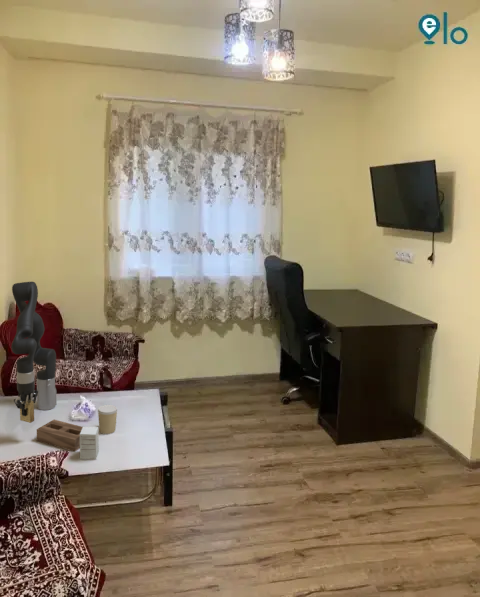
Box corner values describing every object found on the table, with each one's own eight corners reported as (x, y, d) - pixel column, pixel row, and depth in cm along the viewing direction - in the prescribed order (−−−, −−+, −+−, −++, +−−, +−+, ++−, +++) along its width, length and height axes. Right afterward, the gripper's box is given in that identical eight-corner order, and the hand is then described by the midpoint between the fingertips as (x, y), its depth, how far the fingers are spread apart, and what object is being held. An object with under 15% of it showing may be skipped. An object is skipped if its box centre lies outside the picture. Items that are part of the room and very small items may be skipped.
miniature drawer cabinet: (82, 451, 241) (82, 426, 239) (99, 451, 242) (99, 426, 239) (79, 459, 234) (79, 433, 231) (96, 459, 235) (96, 434, 232)
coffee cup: (120, 428, 265) (120, 406, 263) (110, 436, 257) (110, 413, 254) (104, 425, 268) (104, 403, 266) (94, 432, 260) (94, 410, 257)
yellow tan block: (24, 418, 248) (23, 398, 246) (34, 420, 246) (33, 401, 244) (20, 420, 246) (19, 400, 243) (30, 422, 244) (29, 403, 241)
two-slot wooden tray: (54, 430, 259) (53, 419, 258) (91, 440, 252) (91, 429, 251) (36, 440, 248) (36, 429, 247) (75, 451, 241) (74, 439, 240)
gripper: (30, 373, 249) (31, 407, 253) (7, 383, 236) (9, 418, 240) (42, 376, 246) (43, 410, 250) (20, 386, 234) (22, 422, 237)
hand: (27, 414), depth 245 cm, fingers closed on yellow tan block, 2 cm apart
